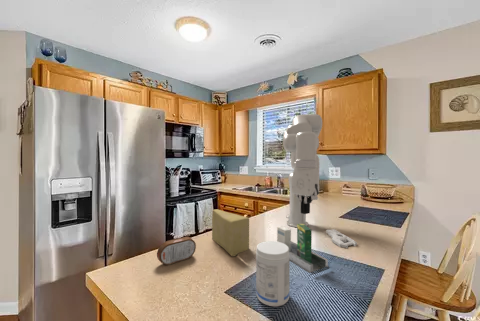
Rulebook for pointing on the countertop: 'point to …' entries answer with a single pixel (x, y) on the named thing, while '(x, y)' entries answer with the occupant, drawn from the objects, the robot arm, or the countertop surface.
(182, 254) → the tin
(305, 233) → the coffee box
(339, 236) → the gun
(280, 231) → the small white carton
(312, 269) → the rail
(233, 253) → the cheese
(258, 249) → the supplement tub
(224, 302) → the countertop surface
